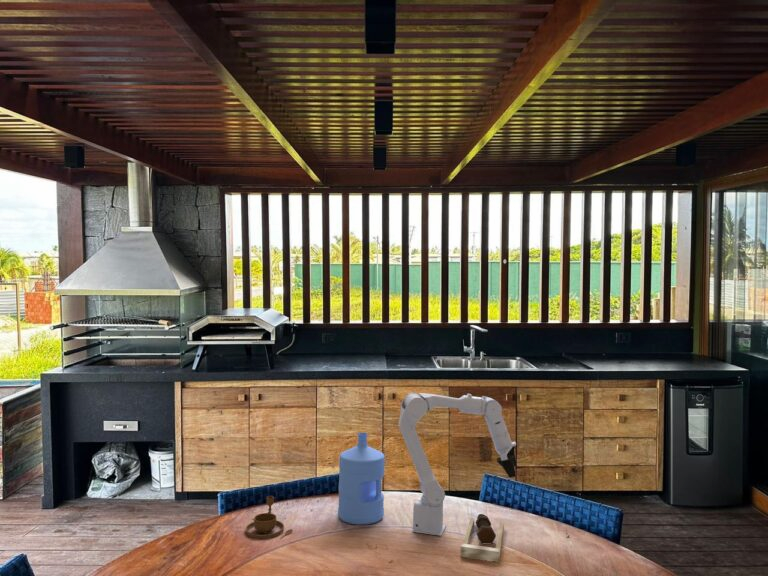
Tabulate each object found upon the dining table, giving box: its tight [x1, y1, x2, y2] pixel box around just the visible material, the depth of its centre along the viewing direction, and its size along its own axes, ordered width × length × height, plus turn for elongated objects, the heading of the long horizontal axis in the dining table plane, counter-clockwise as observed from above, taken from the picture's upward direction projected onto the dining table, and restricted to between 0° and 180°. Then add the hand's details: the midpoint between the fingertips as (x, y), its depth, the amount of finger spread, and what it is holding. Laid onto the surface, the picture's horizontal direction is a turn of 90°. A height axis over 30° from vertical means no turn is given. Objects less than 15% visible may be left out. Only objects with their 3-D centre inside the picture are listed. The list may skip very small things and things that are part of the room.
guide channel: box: [460, 517, 505, 563], centre depth 167 cm, size 11×24×3 cm, turn 164°
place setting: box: [245, 495, 293, 540], centre depth 176 cm, size 18×20×6 cm
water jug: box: [337, 432, 386, 526], centre depth 185 cm, size 16×16×28 cm
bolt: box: [475, 513, 497, 544], centre depth 173 cm, size 6×5×15 cm
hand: (512, 471), depth 179 cm, fingers open, 7 cm apart
